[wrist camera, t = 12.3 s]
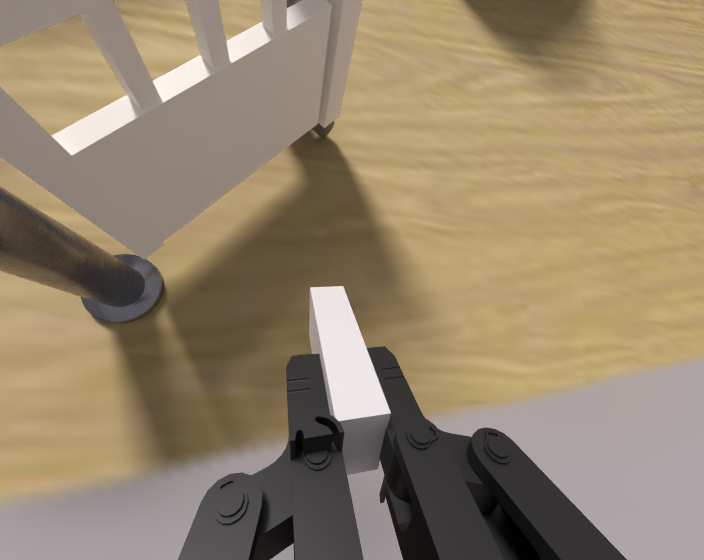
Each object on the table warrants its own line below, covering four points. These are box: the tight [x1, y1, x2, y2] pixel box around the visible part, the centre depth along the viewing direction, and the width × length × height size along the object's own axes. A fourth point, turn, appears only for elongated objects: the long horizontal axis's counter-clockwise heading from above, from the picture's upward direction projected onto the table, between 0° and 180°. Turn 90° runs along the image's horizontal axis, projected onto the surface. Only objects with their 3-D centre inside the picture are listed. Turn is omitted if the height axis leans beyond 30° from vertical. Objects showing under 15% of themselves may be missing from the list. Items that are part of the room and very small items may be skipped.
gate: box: [0, 0, 363, 260], centre depth 17 cm, size 20×2×18 cm, turn 139°
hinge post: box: [0, 187, 164, 322], centre depth 12 cm, size 5×5×20 cm
